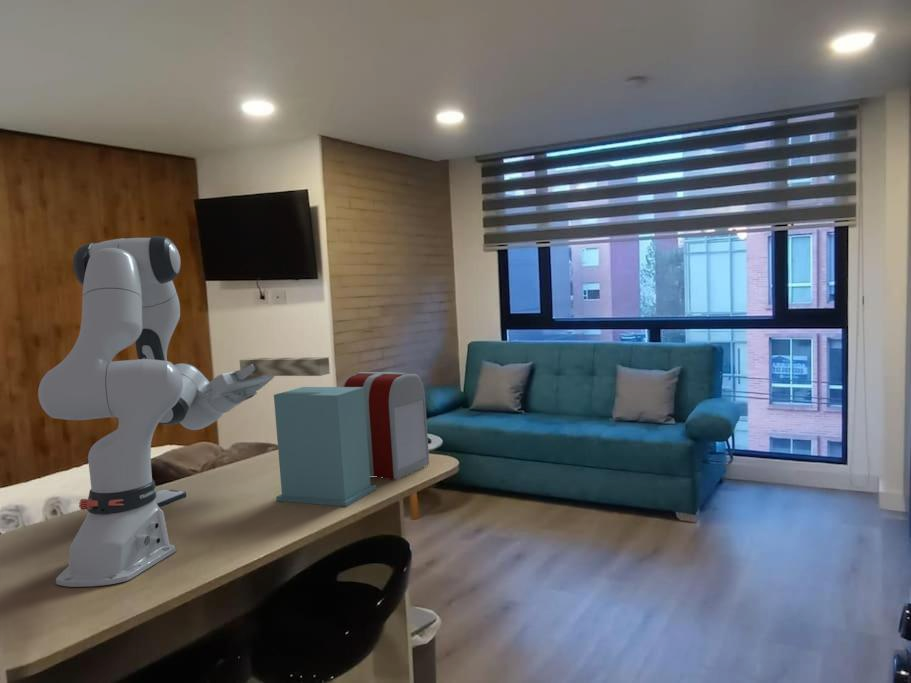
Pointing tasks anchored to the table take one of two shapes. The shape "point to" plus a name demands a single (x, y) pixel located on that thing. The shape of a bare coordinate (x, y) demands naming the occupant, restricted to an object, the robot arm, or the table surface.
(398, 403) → the red striped toaster
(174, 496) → the phone case
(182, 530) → the table surface
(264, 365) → the rail
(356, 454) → the tall teal upright box
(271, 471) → the table surface
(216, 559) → the table surface
